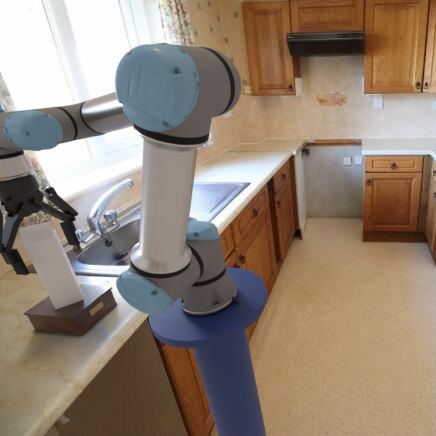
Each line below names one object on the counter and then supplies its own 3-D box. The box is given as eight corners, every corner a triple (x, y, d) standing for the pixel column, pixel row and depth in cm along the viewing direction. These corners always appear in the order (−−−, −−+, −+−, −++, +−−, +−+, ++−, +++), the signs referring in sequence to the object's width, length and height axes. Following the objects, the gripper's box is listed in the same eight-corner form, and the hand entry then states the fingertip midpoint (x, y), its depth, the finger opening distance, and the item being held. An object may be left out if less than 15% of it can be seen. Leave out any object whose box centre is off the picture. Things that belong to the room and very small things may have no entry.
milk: (84, 300, 85) (50, 225, 75) (55, 310, 81) (16, 233, 72) (82, 289, 89) (50, 217, 80) (54, 298, 86) (18, 224, 76)
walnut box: (118, 303, 92) (111, 286, 90) (81, 336, 81) (72, 318, 78) (75, 299, 95) (67, 283, 92) (33, 331, 83) (23, 313, 81)
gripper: (49, 161, 83) (80, 234, 92) (-75, 196, 60) (-18, 288, 69) (74, 161, 81) (103, 235, 90) (-43, 196, 59) (10, 290, 68)
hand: (51, 258), depth 80 cm, fingers open, 13 cm apart
